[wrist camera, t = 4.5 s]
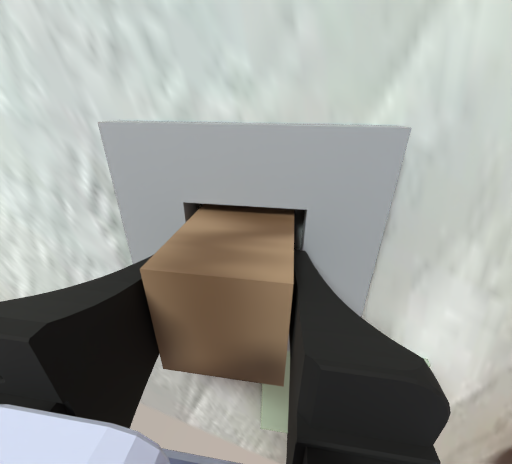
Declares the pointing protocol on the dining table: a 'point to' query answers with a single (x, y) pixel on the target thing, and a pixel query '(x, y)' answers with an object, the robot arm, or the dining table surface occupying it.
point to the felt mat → (278, 403)
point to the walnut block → (225, 293)
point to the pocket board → (262, 185)
